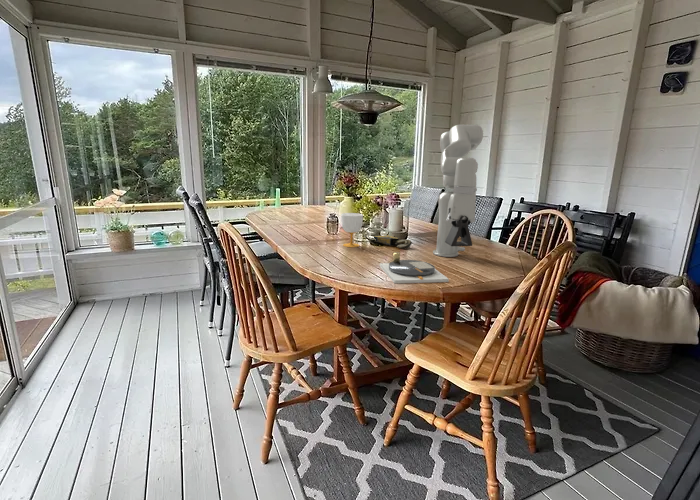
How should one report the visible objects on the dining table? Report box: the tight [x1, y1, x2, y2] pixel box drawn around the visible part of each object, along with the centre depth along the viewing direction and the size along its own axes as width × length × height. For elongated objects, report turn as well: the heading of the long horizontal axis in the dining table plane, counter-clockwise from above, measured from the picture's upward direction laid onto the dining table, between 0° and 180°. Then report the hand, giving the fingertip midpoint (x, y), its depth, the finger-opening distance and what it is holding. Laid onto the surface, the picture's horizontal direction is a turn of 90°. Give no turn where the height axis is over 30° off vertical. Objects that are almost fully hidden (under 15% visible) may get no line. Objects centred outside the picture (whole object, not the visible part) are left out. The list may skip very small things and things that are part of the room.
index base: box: [379, 262, 450, 284], centre depth 160 cm, size 22×24×2 cm
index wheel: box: [389, 251, 436, 276], centre depth 160 cm, size 19×19×6 cm
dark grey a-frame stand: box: [445, 216, 473, 247], centre depth 152 cm, size 9×6×12 cm, turn 99°
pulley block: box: [364, 234, 413, 249], centre depth 213 cm, size 14×6×30 cm
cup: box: [340, 212, 364, 248], centre depth 206 cm, size 12×12×17 cm
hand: (459, 236), depth 152 cm, fingers closed on dark grey a-frame stand, 1 cm apart
